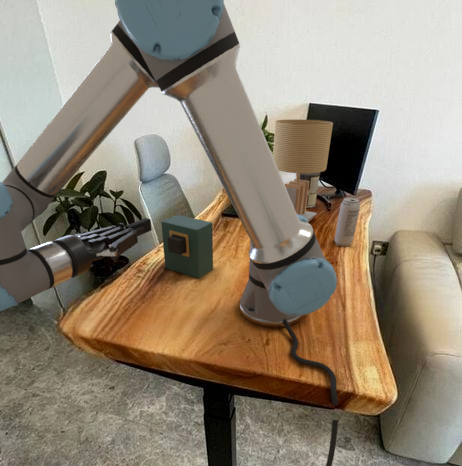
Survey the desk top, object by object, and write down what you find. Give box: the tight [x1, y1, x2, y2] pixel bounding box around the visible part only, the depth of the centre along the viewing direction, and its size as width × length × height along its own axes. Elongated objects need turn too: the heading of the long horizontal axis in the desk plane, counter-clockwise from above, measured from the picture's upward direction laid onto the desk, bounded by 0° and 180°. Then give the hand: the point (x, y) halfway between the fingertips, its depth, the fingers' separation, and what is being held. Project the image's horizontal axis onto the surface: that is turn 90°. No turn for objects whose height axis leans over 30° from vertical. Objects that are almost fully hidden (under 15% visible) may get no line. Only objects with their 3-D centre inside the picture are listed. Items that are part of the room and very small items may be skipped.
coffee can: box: [295, 172, 321, 209], centre depth 156 cm, size 10×10×14 cm
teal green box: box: [160, 214, 214, 279], centre depth 98 cm, size 7×12×14 cm, turn 59°
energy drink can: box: [334, 197, 361, 247], centre depth 116 cm, size 6×6×15 cm
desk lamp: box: [272, 119, 334, 223], centre depth 130 cm, size 20×20×35 cm
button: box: [167, 235, 186, 255], centre depth 95 cm, size 5×4×4 cm
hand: (148, 224), depth 82 cm, fingers closed
